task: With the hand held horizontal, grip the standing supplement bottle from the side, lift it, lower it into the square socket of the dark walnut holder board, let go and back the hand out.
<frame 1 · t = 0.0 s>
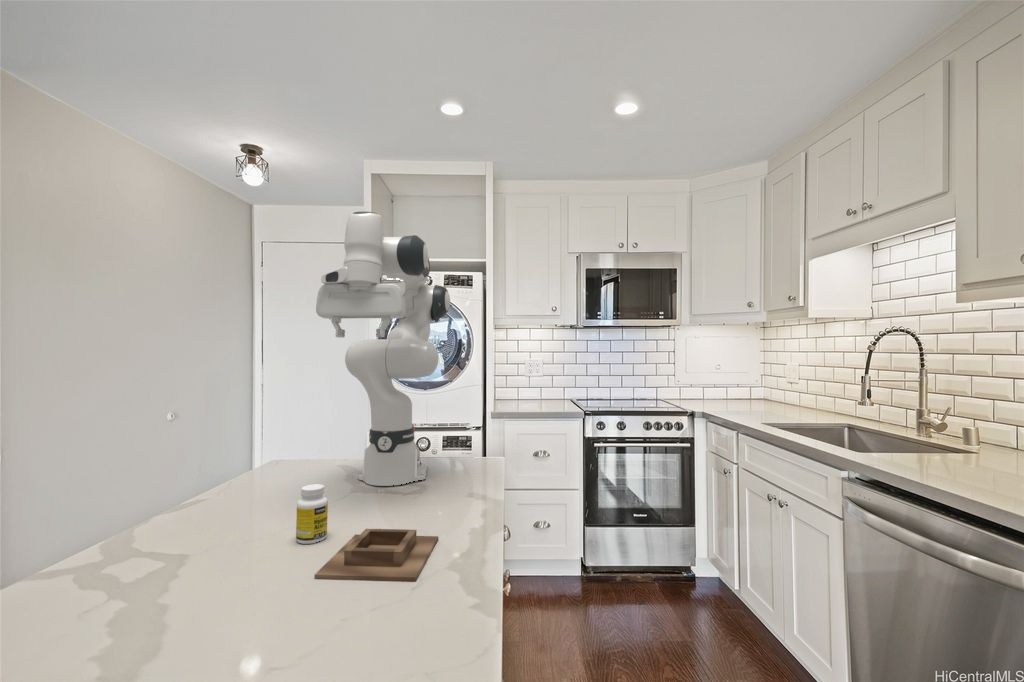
hand: (360, 337, 106), 39 cm above the counter, tool pointing down, fingers open, 8 cm apart
supplement bottle: (311, 540, 88), on the counter
walnut can holder: (382, 557, 80), on the counter
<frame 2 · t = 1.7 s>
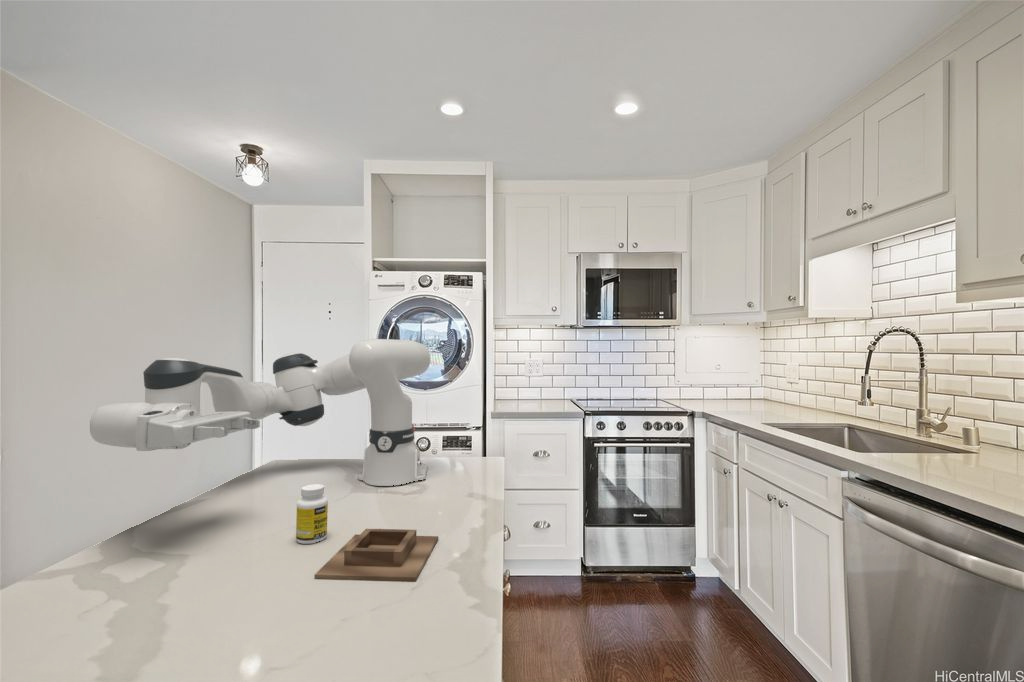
hand: (242, 427, 89), 21 cm above the counter, tool horizontal, fingers open, 8 cm apart
nothing on the counter moved.
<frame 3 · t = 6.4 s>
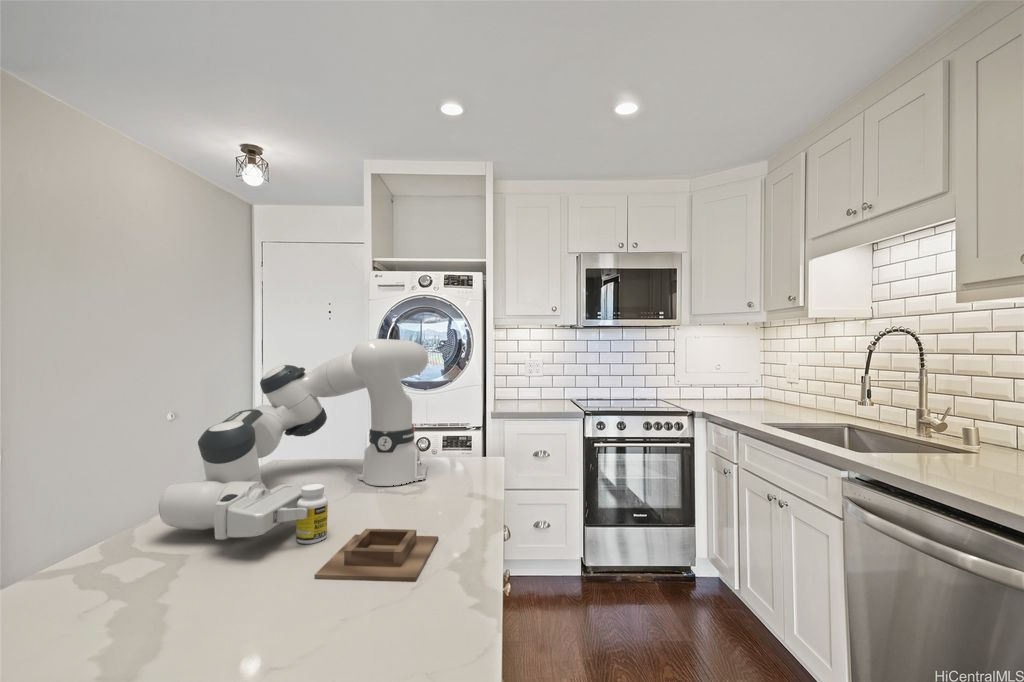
hand: (316, 506, 88), 6 cm above the counter, tool horizontal, fingers closed on supplement bottle, 5 cm apart
supplement bottle: (311, 539, 88), on the counter, touching gripper
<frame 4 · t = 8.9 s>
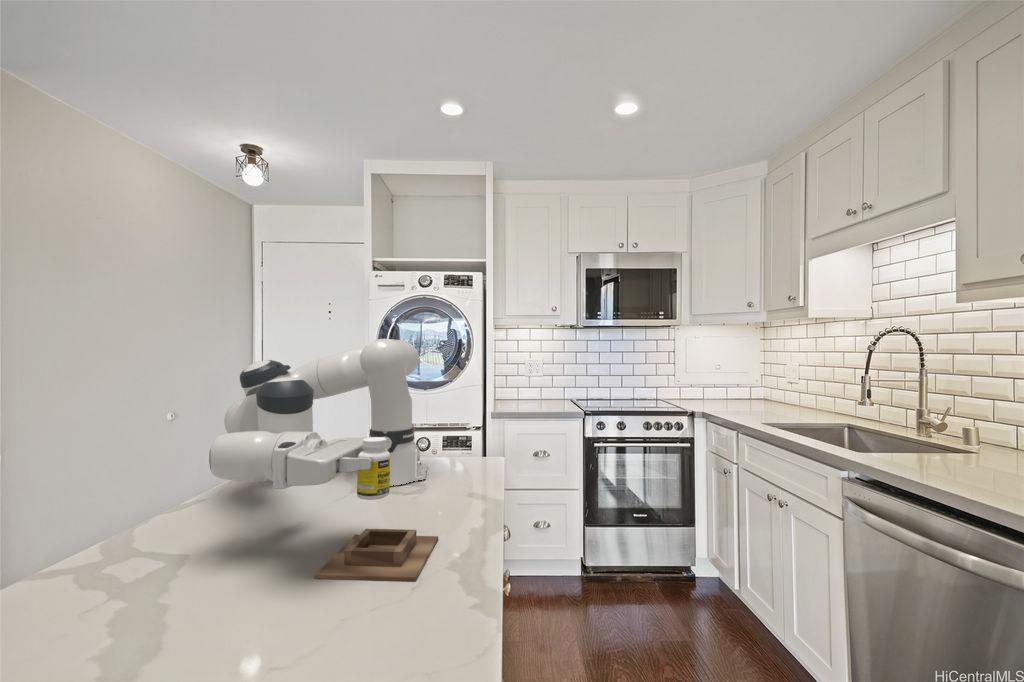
hand: (379, 458, 80), 17 cm above the counter, tool horizontal, fingers closed on supplement bottle, 5 cm apart
supplement bottle: (373, 497, 80), point 10 cm above the counter, touching gripper
when the fingers open (8 cm above the counter, at t = 11.6 s): supplement bottle stays where it is, resting on walnut can holder.
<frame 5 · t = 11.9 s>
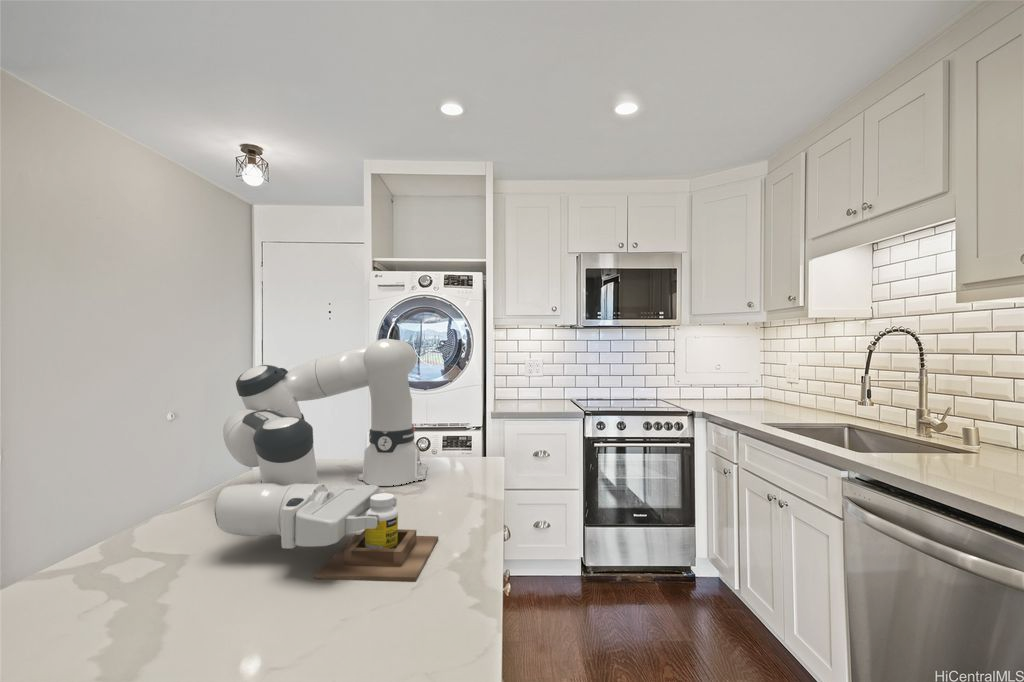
hand: (387, 511, 80), 8 cm above the counter, tool horizontal, fingers open, 8 cm apart
supplement bottle: (381, 554, 80), resting on walnut can holder
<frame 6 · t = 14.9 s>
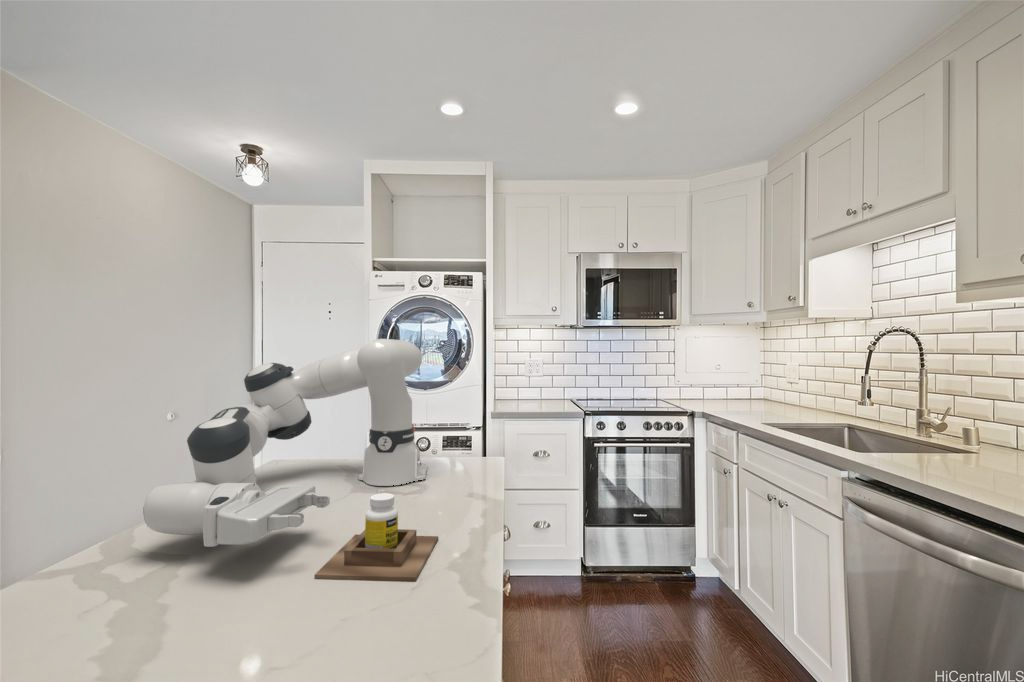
hand: (315, 510, 80), 8 cm above the counter, tool horizontal, fingers open, 8 cm apart
nothing on the counter moved.
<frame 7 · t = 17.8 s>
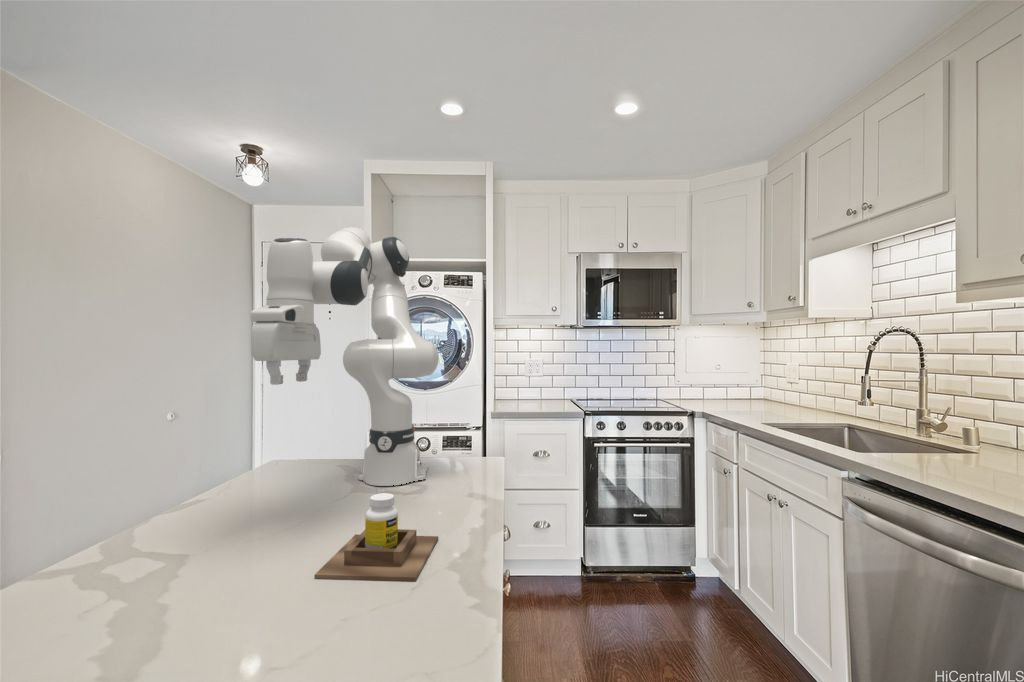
hand: (289, 382, 95), 29 cm above the counter, tool pointing down, fingers open, 8 cm apart
nothing on the counter moved.
at the end: supplement bottle 0.1 cm from the walnut can holder (horizontally); supplement bottle resting on walnut can holder; supplement bottle tilted 0° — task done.
